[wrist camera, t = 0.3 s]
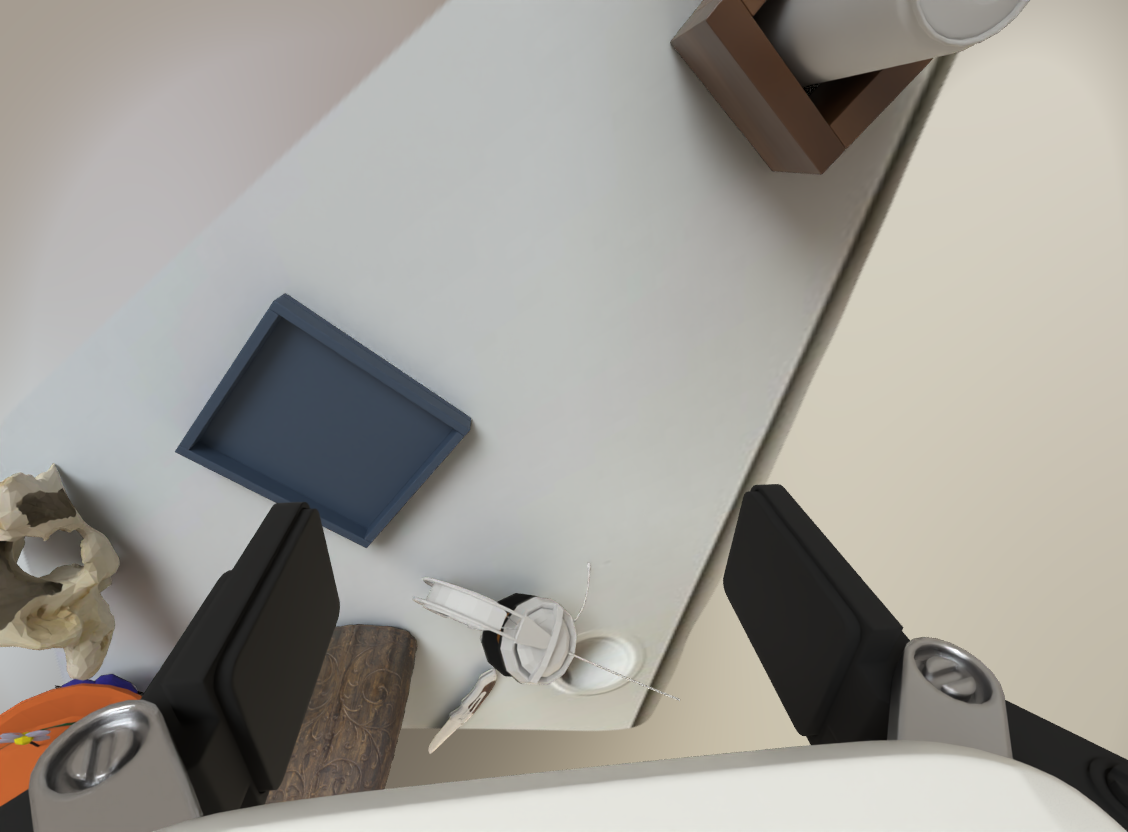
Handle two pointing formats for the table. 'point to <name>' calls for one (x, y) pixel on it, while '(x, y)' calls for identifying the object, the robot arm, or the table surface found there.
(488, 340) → the table surface
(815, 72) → the beverage can
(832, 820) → the robot arm
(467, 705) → the pocket knife
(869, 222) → the table surface
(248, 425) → the tray
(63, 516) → the decorative object
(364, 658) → the statue
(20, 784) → the toy
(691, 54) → the can holder
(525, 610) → the headphones
